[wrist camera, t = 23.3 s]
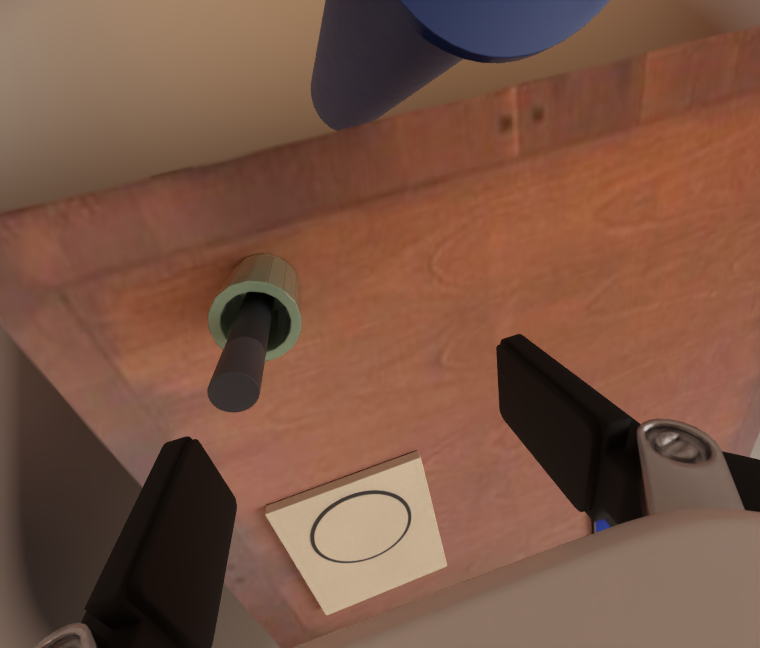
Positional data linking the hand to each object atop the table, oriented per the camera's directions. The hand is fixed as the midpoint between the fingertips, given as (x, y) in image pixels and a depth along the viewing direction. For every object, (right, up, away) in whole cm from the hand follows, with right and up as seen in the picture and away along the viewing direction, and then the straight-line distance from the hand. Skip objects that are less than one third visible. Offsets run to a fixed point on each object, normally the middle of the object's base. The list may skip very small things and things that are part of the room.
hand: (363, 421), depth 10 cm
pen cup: (-8, +6, +14) cm, 17 cm away
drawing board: (-1, -21, +28) cm, 35 cm away
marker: (-8, +6, +14) cm, 17 cm away
